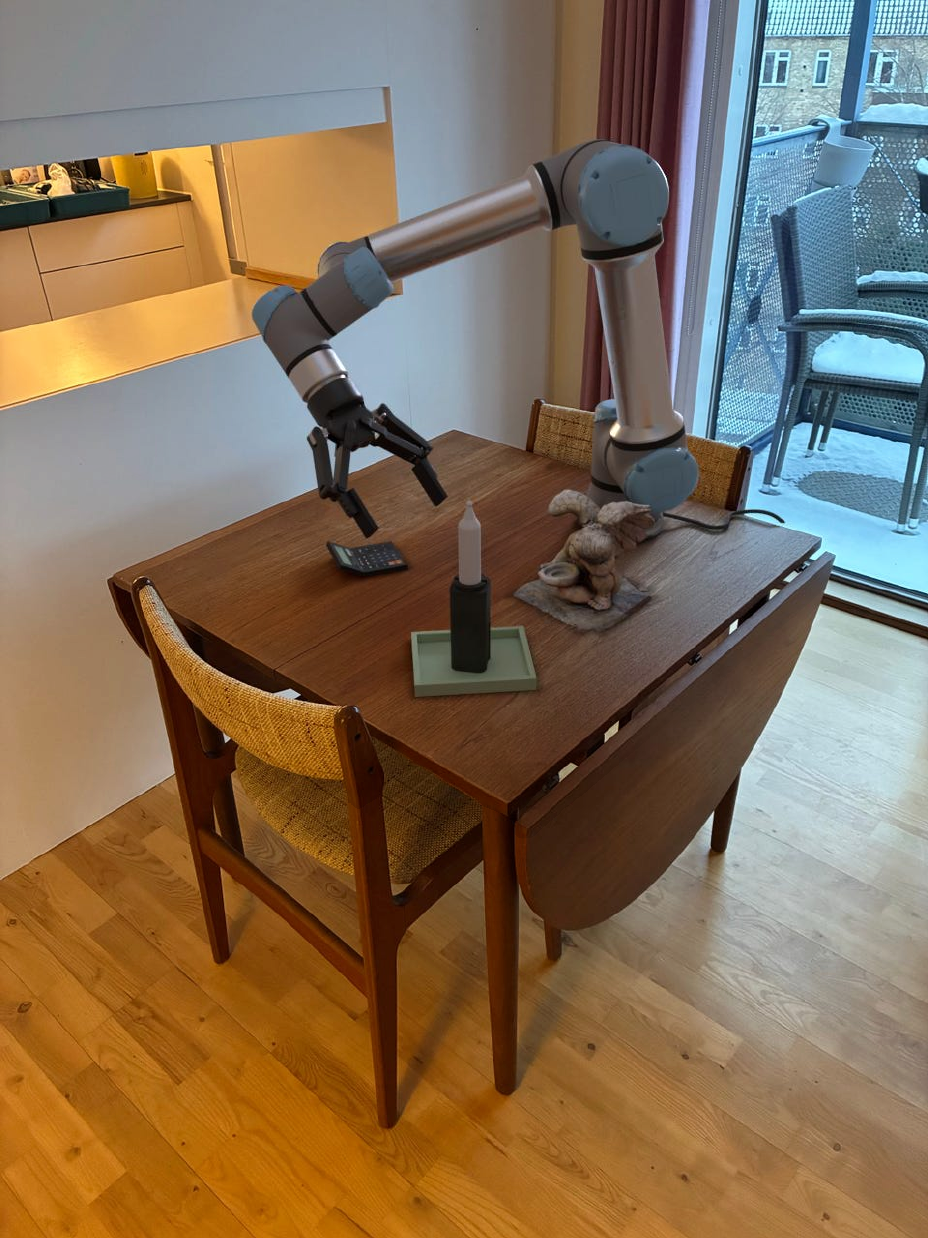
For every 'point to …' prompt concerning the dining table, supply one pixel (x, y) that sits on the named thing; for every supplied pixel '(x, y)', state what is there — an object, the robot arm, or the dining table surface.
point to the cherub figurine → (591, 564)
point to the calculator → (367, 558)
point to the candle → (470, 602)
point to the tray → (438, 678)
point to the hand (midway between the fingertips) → (408, 517)
